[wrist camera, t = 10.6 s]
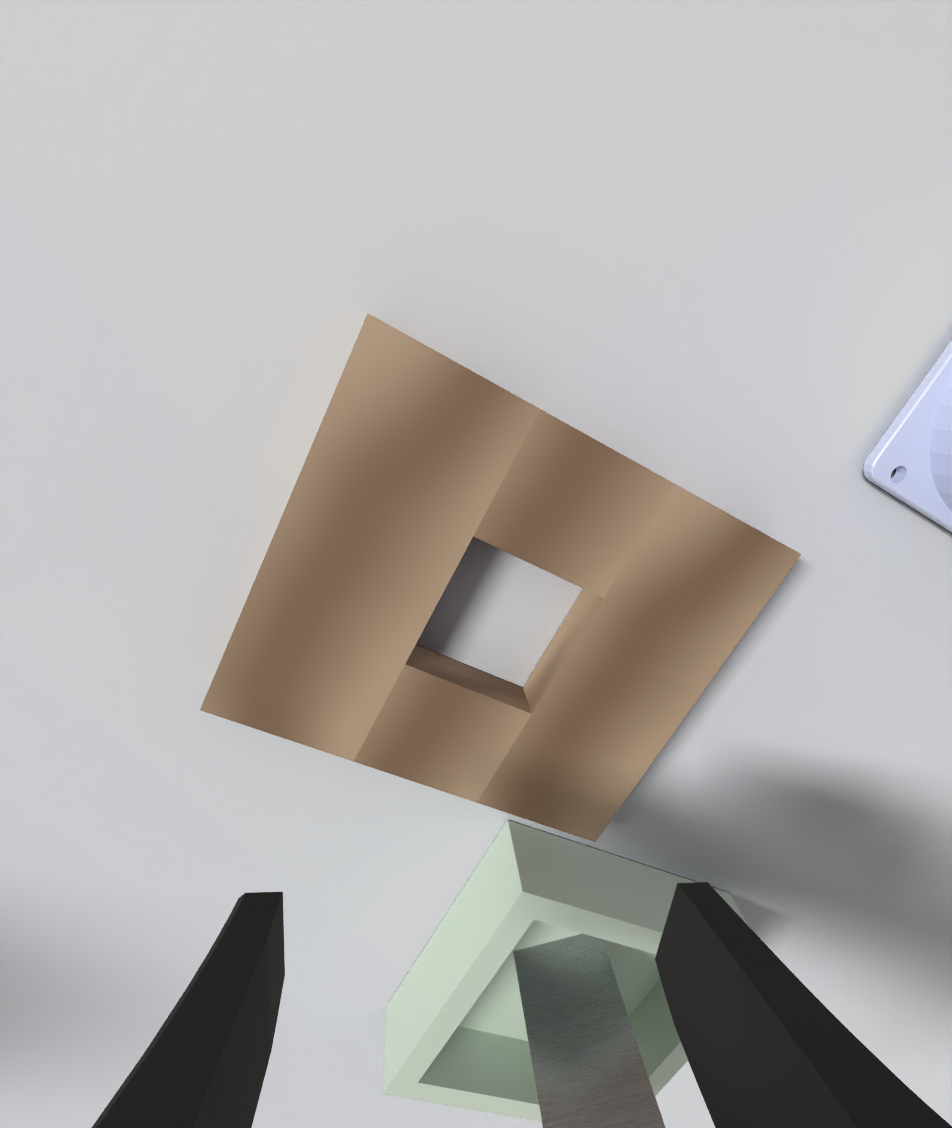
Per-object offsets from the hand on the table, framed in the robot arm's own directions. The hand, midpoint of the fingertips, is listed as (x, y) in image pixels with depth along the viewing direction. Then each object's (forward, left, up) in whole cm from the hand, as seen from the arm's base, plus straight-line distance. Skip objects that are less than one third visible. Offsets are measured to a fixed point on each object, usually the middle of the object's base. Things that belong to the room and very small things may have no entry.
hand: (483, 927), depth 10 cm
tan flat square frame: (0, -3, -9) cm, 9 cm away
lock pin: (-10, +10, -8) cm, 17 cm away
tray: (-10, +10, -9) cm, 17 cm away
